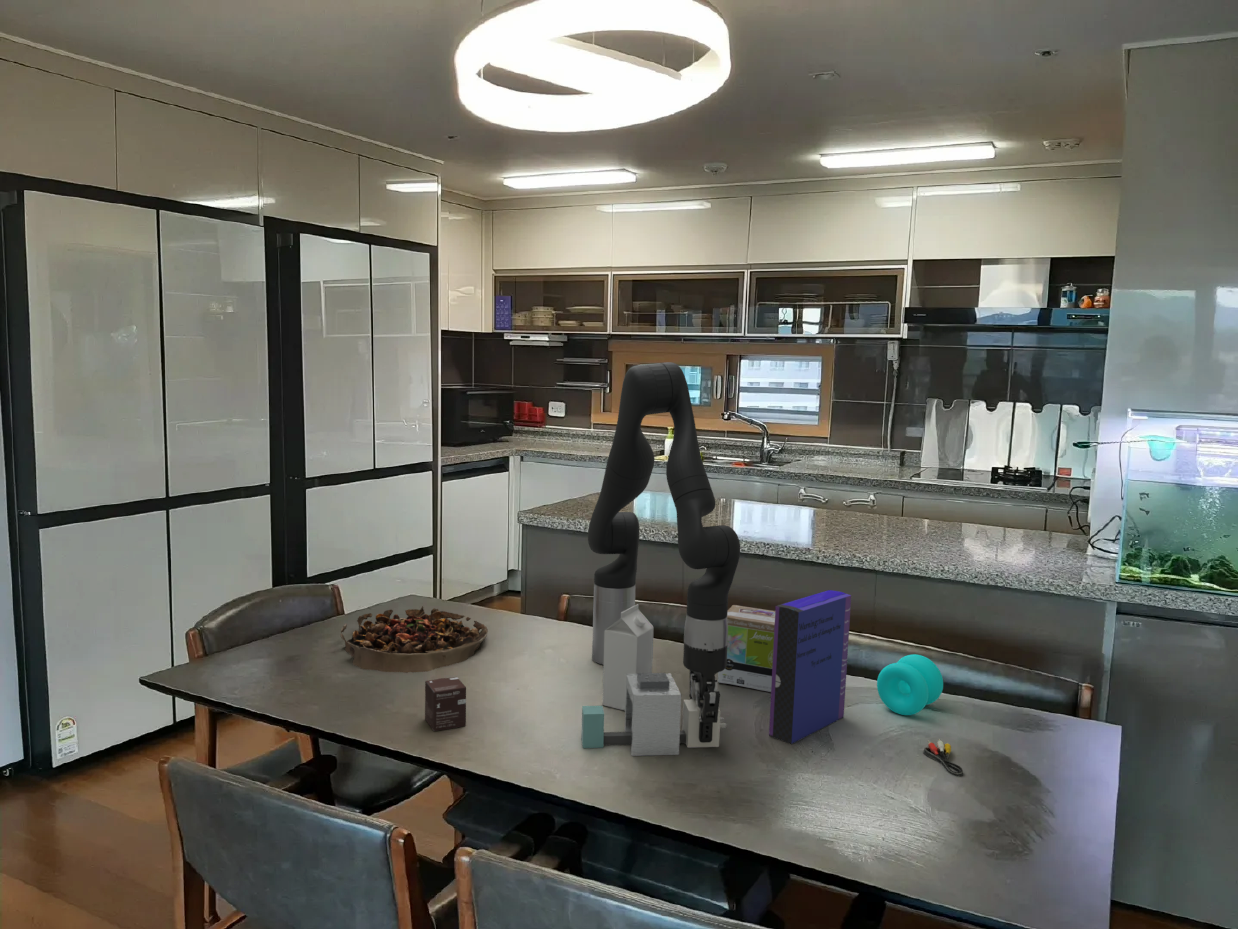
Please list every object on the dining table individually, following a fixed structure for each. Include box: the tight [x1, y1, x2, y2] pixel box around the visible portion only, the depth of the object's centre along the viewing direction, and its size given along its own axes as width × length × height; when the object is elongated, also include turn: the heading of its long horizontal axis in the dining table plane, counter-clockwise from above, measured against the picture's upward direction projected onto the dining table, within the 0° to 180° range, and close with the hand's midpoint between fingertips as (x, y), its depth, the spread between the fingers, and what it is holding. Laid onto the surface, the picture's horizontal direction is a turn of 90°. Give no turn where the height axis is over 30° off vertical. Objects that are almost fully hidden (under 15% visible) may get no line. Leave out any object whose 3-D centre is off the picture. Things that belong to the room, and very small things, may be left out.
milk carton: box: [601, 603, 654, 711], centre depth 160 cm, size 7×7×19 cm
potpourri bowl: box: [339, 605, 489, 674], centre depth 190 cm, size 35×33×8 cm
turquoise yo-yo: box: [876, 653, 944, 716], centre depth 162 cm, size 10×10×10 cm
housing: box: [623, 672, 682, 757], centre depth 143 cm, size 10×8×12 cm
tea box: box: [717, 604, 775, 693], centre depth 173 cm, size 15×10×15 cm, turn 68°
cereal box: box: [768, 589, 852, 746], centre depth 151 cm, size 17×5×24 cm, turn 134°
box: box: [424, 676, 467, 732], centre depth 149 cm, size 6×6×7 cm
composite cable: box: [922, 738, 964, 777], centre depth 140 cm, size 10×5×2 cm, turn 175°
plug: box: [580, 699, 728, 749], centre depth 144 cm, size 5×25×6 cm, turn 97°
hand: (701, 734), depth 145 cm, fingers closed on plug, 5 cm apart
